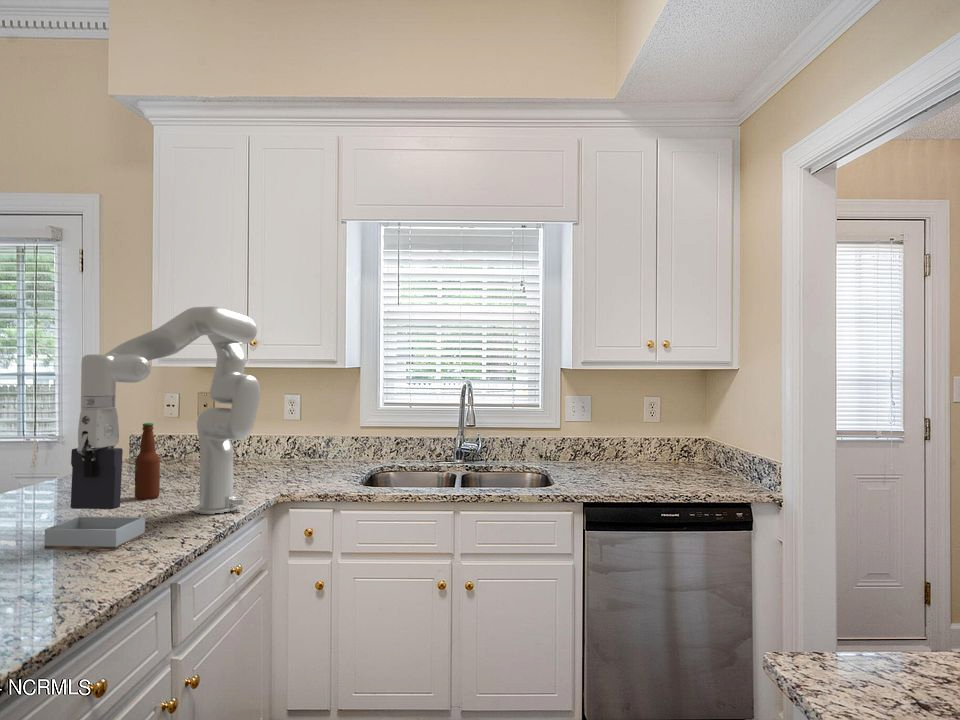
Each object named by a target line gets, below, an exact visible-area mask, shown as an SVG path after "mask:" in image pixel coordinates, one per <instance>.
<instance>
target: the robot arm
mask: <svg viewBox="0 0 960 720" xmlns="http://www.w3.org/2000/svg"><path fill="white" fill-rule="evenodd" d="M257 327H258V326H257V325H256V322H255V321H254V320H253V319H252V318H250V317H249V316H246V315H244V314H241V313H238V312H236V311H235V312H234V311H232V310H228V309H226V308H223V307H222V308H221V307H219V306H195V307H190V308H187V309H185V310H184V311H182V312H181V313H179V314H178V315H176V316H174V317H173V318H171V319H170V320H168V321H167V322H165V323H164V324H162V325H160V326H159V327H157V328H155V329H153V330H150V331H148V332H145V333H143V334H142V335H138V336H137V337H134V338H131V339H129V340H126V341H125V342H123V343H120V344H119V345H117V346H116V347H114V348H112V349H111V350H109V351H108V352H106V353H105V354H97V353H96V354H94V353H93V354H86V355H83V356H82V358H81V365H80V367H81V369H80V370H81V371H80V372H81V375H80V380H81V381H80V412H79V419H78V429H77V452H78V453H79V454H81V456H82V457H83V461H84V477H97V476H98V461H96V458H97V451H98V449H102V448H116V446H117V445H118V444H119V442H120V432H119V431H120V429H119V427H120V426H119V417H118V411H117V407H116V395H117V394H116V392H117V390H116V388H117V387H116V386H117V384H116V383H128V384H129V383H130V384H132V383H133V384H135V383H139V382H142V381H144V380H146V379H147V378H148V377H149V375H150V374H151V367H152V366H151V363H150V361H152V360H157V359H162V358H167V357H170V356H173V355H175V354H177V353H179V352H180V351H182V350H183V349H185V347H188V346H189V345H190V344H192V343H194V341H196V340H198V339H199V338H200V337H203V336H207V337H208V339H209V342H211V343H212V346H213V347H214V349H215V352H216V363H215V367H214V372H213V376H212V380H211V385H210V389H209V390H210V391H209V396H210V398H211V400H212V401H213V402H215V403H218V404H222V405H231V407H230V408H229V407H209V408H206V409H203V411H202V412H201V413H200V414H199V415H198V418H197V420H196V429H197V436H198V440H199V452H200V454H199V455H200V456H199V504H198V505H194V507H193V512H194V513H196V514H199V513H200V515H216V514H215V513H220V514H225V513H224V512H227V513H231V512H233V511H237V510H238V508H239V506H245V505H246V502H247V501H246V498H245V497H237V493H236V492H235V493H234V449H233V445H232V442H231V440H232V441H241V440H244V439H247V438H248V437H249V436H250V435H251V433H252V431H253V428H254V424H255V422H256V416H257V413H258V412H257V411H258V408H259V402H260V399H261V386H260V385H261V384H260V383H259V381H258V379H257V377H255V376H253V375H250V374H247V373H246V374H244V373H245V367H246V355H245V352H244V350H243V348H242V346H241V345H245V344H249V343H251V342H253V341H254V340H255V338H256V336H257V334H258V328H257ZM90 451H92V454H91V453H90ZM230 511H231V512H230Z"/></svg>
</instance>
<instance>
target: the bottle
mask: <svg viewBox="0 0 960 720" xmlns="http://www.w3.org/2000/svg"><path fill="white" fill-rule="evenodd" d="M139 448H140V449H139V450H140V452H139V453H138V455H137V456H136V458H135V461H134V498H135V499H136V500H137V499H138V501H148V500H147V499H151V500H155V499H158V497H160V486H161V485H160V481H161V480H160V479H161V478H160V477H161V475H160V473H161V472H160V471H161V469H160V468H161V461H160V460H161V459H160V456H159V455H158V454H157V452H156V441H155V435H154V423H153V422H144V423H142V434H141V439H140V447H139ZM154 498H155V499H154Z"/></svg>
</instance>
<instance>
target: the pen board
mask: <svg viewBox="0 0 960 720" xmlns="http://www.w3.org/2000/svg"><path fill="white" fill-rule="evenodd" d="M143 535H145V536H146V532H145V533H143V534H141V535H139V536H137V537H135V538H133V539H131V540H129V541H127V542H125V543H123V544H121V545H118V546H116V547H102V546H45V545H44V550H82V549H117V548H119V547H121V546H122V545H125V544H126V543H128V542H131V541H133V540H135V539H137V538H139V537H141V536H143ZM143 537H144V536H143ZM141 538H142V537H141ZM139 539H140V538H139ZM137 540H138V539H137ZM135 541H136V540H135ZM133 542H134V541H133ZM131 543H132V542H131ZM125 546H126V545H125ZM121 548H122V547H121ZM119 549H120V548H119ZM117 550H118V549H117Z"/></svg>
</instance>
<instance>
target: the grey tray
mask: <svg viewBox="0 0 960 720" xmlns="http://www.w3.org/2000/svg"><path fill="white" fill-rule="evenodd" d="M143 533H145V534H146V517H145V516H138V517H137V516H87V515H85V516H82V515H81V516H77V517H74V518H71V519H68V520H66V521H63V522H60V523H57V524H55V525H53V526H49V527H46V528H44V547H45V546H102V547H116V546H118V545H121V544H123V543H125V542H127V541H129V540H131V539H133V538H135V537H137V536H139V535H141V534H143Z"/></svg>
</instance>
